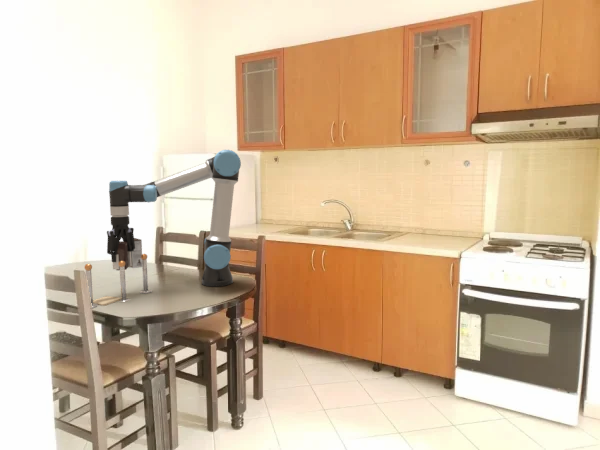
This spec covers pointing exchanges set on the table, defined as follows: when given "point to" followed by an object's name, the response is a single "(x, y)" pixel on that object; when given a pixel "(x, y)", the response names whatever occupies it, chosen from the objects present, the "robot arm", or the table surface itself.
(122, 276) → the corner post
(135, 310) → the table surface
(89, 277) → the end post
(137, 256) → the coffee box
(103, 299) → the pad
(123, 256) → the box
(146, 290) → the gate post
